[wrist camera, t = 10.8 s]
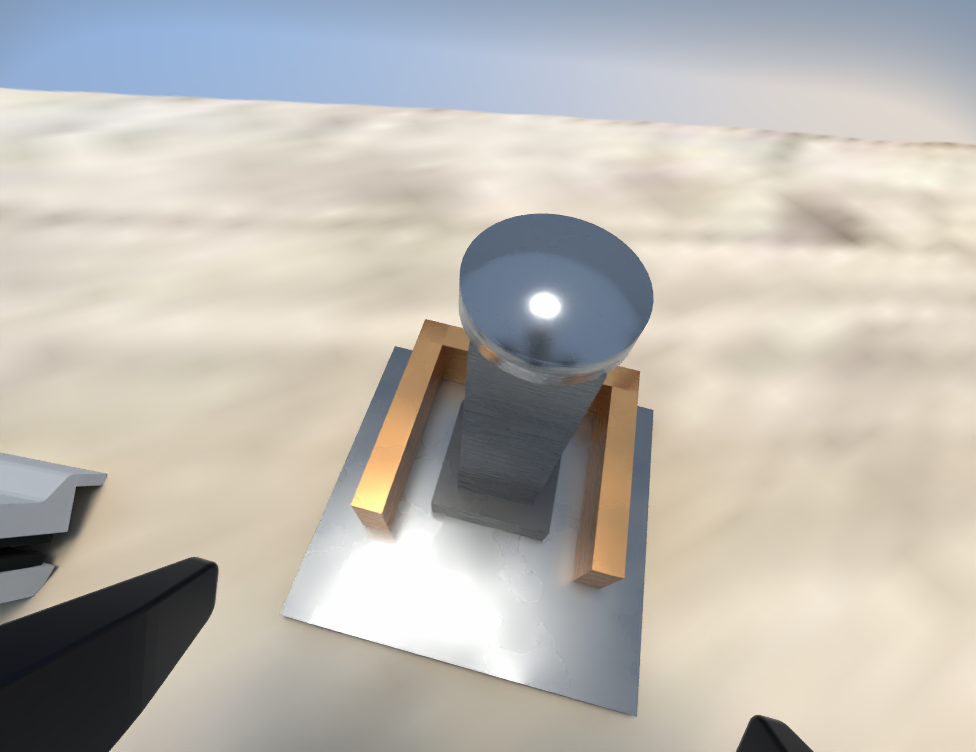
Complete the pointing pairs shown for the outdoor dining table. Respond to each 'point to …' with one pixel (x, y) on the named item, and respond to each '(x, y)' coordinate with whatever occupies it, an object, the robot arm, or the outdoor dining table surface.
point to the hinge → (33, 518)
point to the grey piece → (534, 361)
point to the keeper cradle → (487, 541)
